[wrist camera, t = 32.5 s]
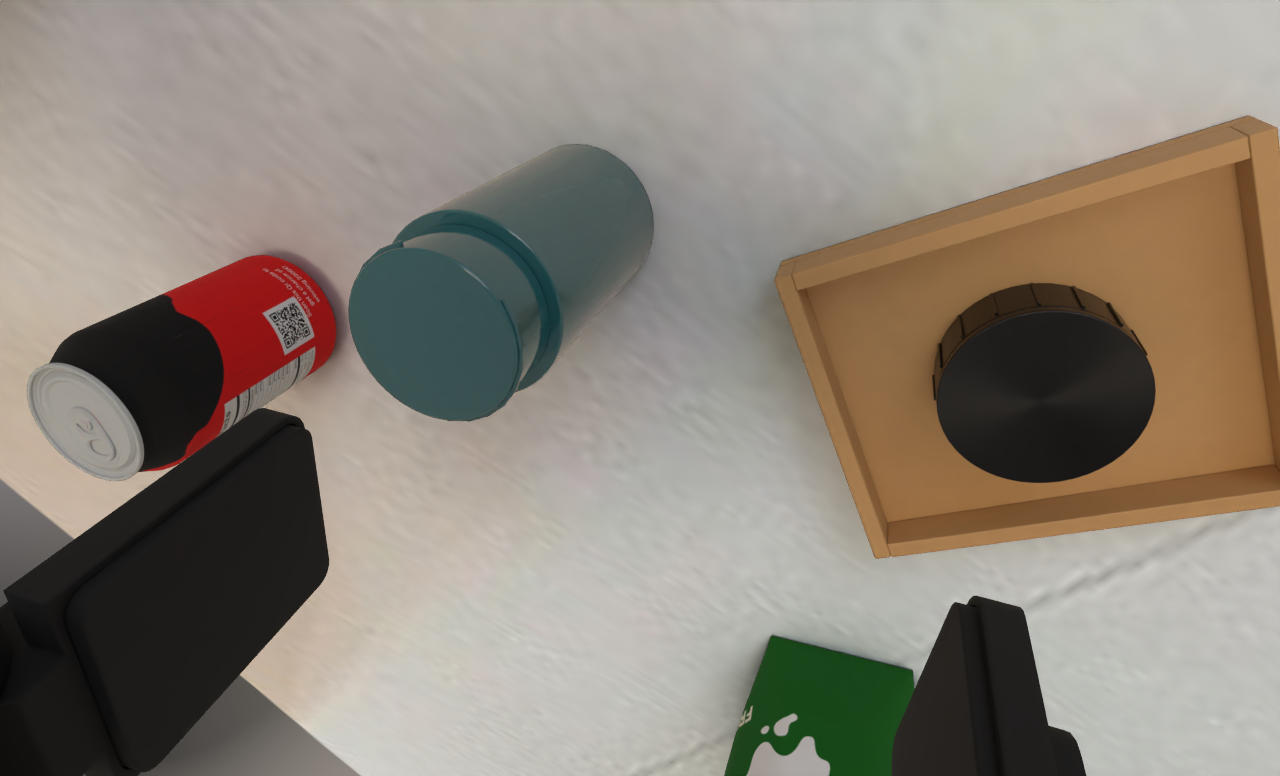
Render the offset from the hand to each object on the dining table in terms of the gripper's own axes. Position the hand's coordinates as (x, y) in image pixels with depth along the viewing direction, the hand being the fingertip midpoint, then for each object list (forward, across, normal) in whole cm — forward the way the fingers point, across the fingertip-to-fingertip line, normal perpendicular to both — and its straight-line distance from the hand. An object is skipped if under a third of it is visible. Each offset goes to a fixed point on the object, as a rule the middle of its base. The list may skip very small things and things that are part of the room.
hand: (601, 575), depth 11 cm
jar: (+22, +8, +3) cm, 24 cm away
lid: (+19, -11, +5) cm, 22 cm away
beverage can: (+23, +23, +10) cm, 34 cm away
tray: (+22, -11, +5) cm, 25 cm away
